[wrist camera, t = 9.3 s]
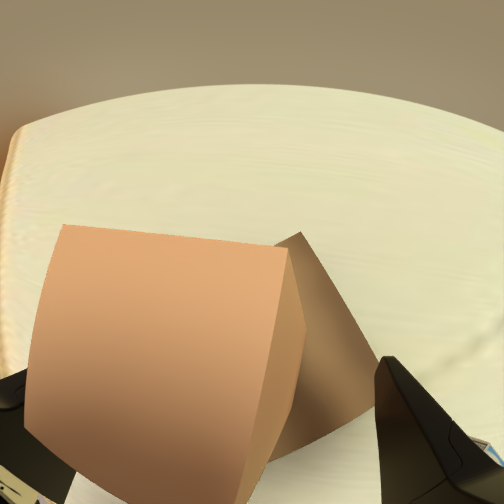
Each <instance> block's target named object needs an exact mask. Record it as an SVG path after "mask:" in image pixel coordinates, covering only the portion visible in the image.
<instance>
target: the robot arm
mask: <svg viewBox="0 0 504 504" xmlns="http://www.w3.org/2000/svg"><path fill="white" fill-rule="evenodd" d="M27 369H28V368H27ZM27 369H25V370H22V371H20V372H18V373H15V374H13V375H11V376H8V377H6V378H3V379H1V380H0V504H40V503H39V500H37V498H38V496H39V494H42V495H43V496H45V497H46V498H48V499H50V500H51V501H53V502H55V503H56V504H64V502H65V500H66V497H67V494H68V492H69V489H70V486H71V484H72V481H73V479H74V476H75V474H76V470H74V469H73V468H72V467H70V466H69V465H68V464H66V463H65V462H64V461H63V460H61V459H60V458H59V457H58V456H56V455H55V454H54V453H53V452H51V451H50V450H49V449H48V448H47V447H45V446H44V445H43V444H42V443H41V442H40V441H39V440H38V439H36V438H35V437H34V436H33V435H32V434H31V433H30V432H29V431H28V430H27V429H26V428H25V427H24V409H25V390H26V378H27ZM374 389H375V421H376V430H377V439H378V450H379V462H380V476H381V498H382V504H504V467H503V466H501V465H499V464H498V463H497V462H495V461H494V460H493V459H492V458H491V457H490V456H489V455H488V454H487V453H485V452H484V451H483V450H482V449H481V448H480V447H479V446H478V445H477V444H476V443H475V442H474V441H473V440H471V439H470V438H469V437H468V436H467V435H466V433H465V432H464V431H463V430H462V429H461V428H460V427H459V426H458V425H457V424H456V423H455V421H452V418H451V417H450V416H449V415H448V414H447V413H446V412H445V410H444V409H443V408H442V407H441V406H440V405H439V404H438V403H437V402H436V401H435V399H434V398H433V397H432V396H431V395H430V394H429V393H428V392H427V391H426V390H425V389H424V387H423V386H422V385H421V384H420V383H419V382H418V381H417V380H416V379H415V378H414V377H413V376H412V375H411V374H410V372H409V371H408V370H407V369H406V368H405V367H404V366H403V365H402V364H401V363H400V362H399V361H398V360H397V359H396V358H395V357H394V356H383V357H382V358H381V360H380V362H379V365H378V367H377V369H376V371H375V375H374Z"/></svg>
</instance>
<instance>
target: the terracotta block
mask: <svg viewBox="0 0 504 504" xmlns="http://www.w3.org/2000/svg"><path fill="white" fill-rule="evenodd" d="M306 332H307V328H306V323H305V319H304V314H303V310H302V305H301V301H300V296H299V292H298V288H297V283H296V279H295V275H294V271H293V266H292V262H291V258H290V254H289V250H288V248H283V247H274V246H266V245H257V244H248V243H239V242H230V241H221V240H211V239H202V238H193V237H183V236H174V235H165V234H155V233H145V232H136V231H126V230H116V229H106V228H96V227H86V226H76V225H66V224H63V226H62V229H61V231H60V234H59V237H58V240H57V242H56V245H55V248H54V251H53V254H52V257H51V261H50V264H49V267H48V271H47V274H46V278H45V281H44V285H43V289H42V293H41V297H40V301H39V305H38V309H37V314H36V319H35V324H34V329H33V334H32V340H31V346H30V353H29V360H28V369H27V378H26V390H25V409H24V427H25V428H26V429H27V430H28V431H29V432H30V433H31V434H32V435H33V436H34V437H35V438H36V439H38V440H39V441H40V442H41V443H42V444H43V445H44V446H45V447H47V448H48V449H49V450H50V451H51V452H53V453H54V454H55V455H56V456H58V457H59V458H60V459H61V460H63V461H64V462H65V463H66V464H68V465H69V466H70V467H72V468H73V469H74V470H76V471H77V472H79V473H80V474H81V475H83V476H84V477H86V478H87V479H89V480H90V481H92V482H93V483H95V484H96V485H98V486H99V487H101V488H103V489H104V490H106V491H107V492H109V493H111V494H112V495H114V496H116V497H118V498H119V499H121V500H123V501H125V502H126V503H128V504H246V503H247V502H248V500H249V498H250V496H251V494H252V492H253V490H254V488H255V486H256V484H257V482H258V480H259V478H260V476H261V474H262V472H263V470H264V468H265V466H266V464H267V462H268V460H269V458H270V456H271V454H272V451H273V449H274V447H275V445H276V443H277V440H278V438H279V436H280V434H281V431H282V429H283V427H284V424H285V422H286V420H287V417H288V415H289V413H290V410H291V408H292V403H293V399H294V394H295V390H296V385H297V380H298V375H299V370H300V365H301V360H302V355H303V349H304V344H305V338H306Z"/></svg>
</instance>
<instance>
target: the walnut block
mask: <svg viewBox="0 0 504 504" xmlns="http://www.w3.org/2000/svg"><path fill="white" fill-rule="evenodd" d="M274 247H283V248H288V250H289V254H290V258H291V262H292V266H293V271H294V275H295V279H296V283H297V288H298V292H299V296H300V301H301V305H302V310H303V314H304V319H305V323H306V328H307V332H306V338H305V344H304V349H303V355H302V360H301V365H300V370H299V375H298V380H297V385H296V390H295V394H294V399H293V403H292V408H291V410H290V413H289V415H288V417H287V420H286V422H285V424H284V427H283V429H282V431H281V434H280V436H279V438H278V440H277V443H276V445H275V447H274V449H273V451H272V454H271V456H270V458H269V460H268V462H271V461H273V460H276V459H278V458H280V457H282V456H285V455H287V454H289V453H291V452H293V451H296V450H298V449H300V448H302V447H304V446H306V445H308V444H310V443H312V442H314V441H316V440H318V439H320V438H321V437H323V436H325V435H327V434H329V433H331V432H332V431H334V430H336V429H338V428H340V427H341V426H343V425H345V424H346V423H348V422H350V421H351V420H353V419H355V418H356V417H358V416H359V415H361V414H363V413H364V412H366V411H367V410H369V409H370V408H372V407H373V406H375V389H374V375H375V371H376V369H377V367H378V365H379V362H378V360H377V358H376V357H375V355H374V353H373V351H372V349H371V348H370V346H369V344H368V342H367V340H366V339H365V337H364V335H363V333H362V332H361V330H360V328H359V326H358V325H357V323H356V321H355V319H354V318H353V316H352V314H351V312H350V311H349V309H348V307H347V306H346V304H345V302H344V301H343V299H342V297H341V295H340V294H339V292H338V290H337V289H336V287H335V285H334V284H333V282H332V281H331V279H330V277H329V276H328V274H327V272H326V271H325V269H324V267H323V266H322V264H321V263H320V261H319V259H318V258H317V256H316V255H315V253H314V251H313V250H312V248H311V247H310V245H309V244H308V242H307V240H306V239H305V237H304V236H303V234H302V233H301V232H299V233H297V234H295V235H293V236H291V237H289V238H288V239H286V240H284V241H282V242H280V243H278V244H276V245H274ZM268 462H267V463H268Z"/></svg>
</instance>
